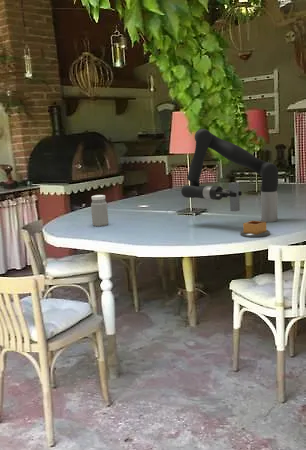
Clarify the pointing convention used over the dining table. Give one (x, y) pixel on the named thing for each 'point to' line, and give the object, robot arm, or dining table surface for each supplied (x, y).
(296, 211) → the dining table surface
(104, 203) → the jar
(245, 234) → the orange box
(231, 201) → the grey tall block
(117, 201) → the dining table surface
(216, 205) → the dining table surface
